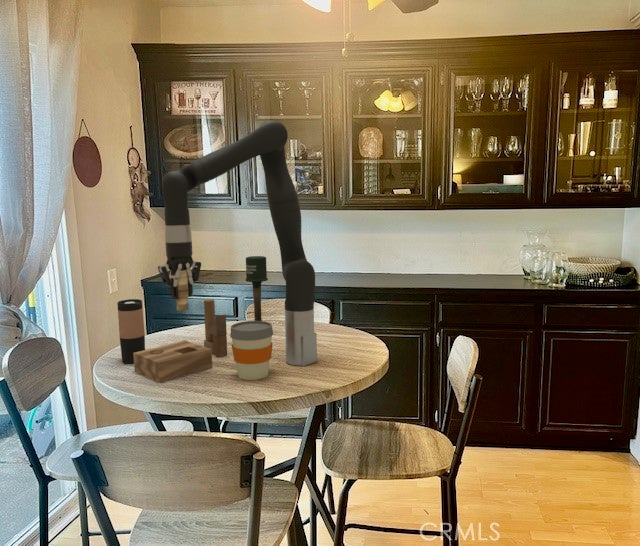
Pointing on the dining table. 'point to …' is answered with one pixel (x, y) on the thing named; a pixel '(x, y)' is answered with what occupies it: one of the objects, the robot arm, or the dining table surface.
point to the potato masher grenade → (256, 280)
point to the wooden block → (215, 330)
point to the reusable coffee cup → (252, 348)
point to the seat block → (172, 360)
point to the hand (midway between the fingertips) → (182, 297)
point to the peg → (182, 291)
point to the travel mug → (131, 328)
